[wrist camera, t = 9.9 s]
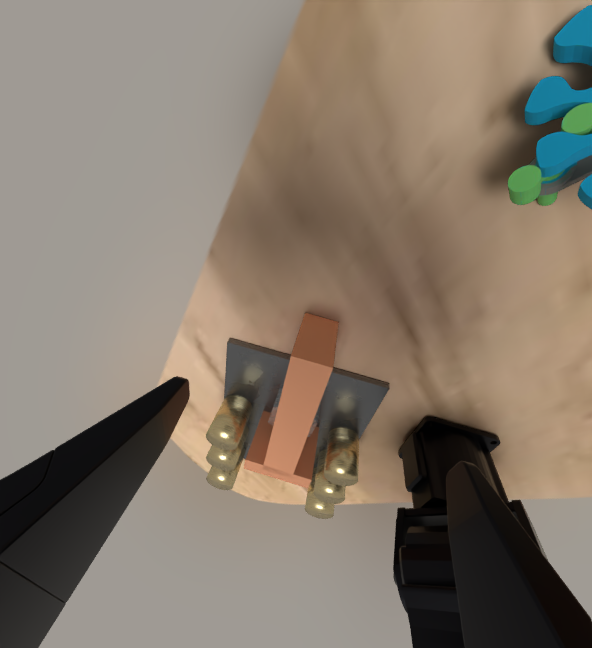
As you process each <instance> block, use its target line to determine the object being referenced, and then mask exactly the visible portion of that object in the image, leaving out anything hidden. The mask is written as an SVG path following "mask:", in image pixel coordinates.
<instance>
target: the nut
mask: <svg viewBox="0 0 592 648" xmlns="http://www.w3.org/2000/svg"><path fill="white" fill-rule="evenodd" d="M282 389H283V388H280V389H279V391H278V394H277V397H276V400H275V403H274V406H273V409H272V412H271V415H270V418H269V421H268V423H269V424H271V425H272V426H273V425H274V421H275V417H276V413H277V409H278V405H279V401H280V397H281V393H282ZM320 405H321V402H320V404H319V407H318V410H317V412H316V415H315V418H314V420H313V423H312V426H311V428H310V431H309V434H308V436H307V437H310V436H311V434H312V432H313V430H314V428H315V427H316V425H317V423H318V418H319V411H320Z"/></svg>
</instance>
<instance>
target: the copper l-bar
mask: <svg viewBox="0 0 592 648" xmlns="http://www.w3.org/2000/svg"><path fill="white" fill-rule="evenodd" d="M338 323H339V322H337V321H333V320H329V319H326V318H322V317H319V316H315V315H311V314H308V313H305V315H304V318H303V321H302V324H301V327H300V330H299V333H298V336H297V339H296V342H295V345H294V348H293V351H292V354H291V358H290V362H289V366H288V370H287V374H286V378H285V381H284V385H283V389H282V393H281V397H280V401H279V405H278V409H277V413H276V417H275V421H274V425H273V426H272V425H271V424H269V423H268V421H269V418H270V415H271V413H269V412H266V411H263V413H262V416H261V419H260V421H259V424H258V427H257V429H256V432H255V435H254V438H253V440H252V443H251V446H250V448H249V451H248V454H247V457H246V459H245V464H244V469H248V470H251V471H254V472H257V473H260V474H264V475H267V476H270V477H273V478H277V479H280V480H283V481H286V482H289V483H293V484H296V485H299V486H302V487H305V488H308V487H309V485H310V483H311V480H312V474H313V467H314V460H315V454H316V447H317V440H318V433H319V427H315V428H314V430H313V432H312V434H311V436H310V437H307V436H308V434H309V431H310V428H311V426H312V423H313V420H314V418H315V415H316V412H317V410H318V407H319V404H320V402H321V399H322V396H323V394H324V391H325V388H326V386H327V383H328V380H329V377H330V375H331V372H332V369H333V364H334V356H335V348H336V340H337V331H338Z"/></svg>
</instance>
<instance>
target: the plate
mask: <svg viewBox="0 0 592 648" xmlns="http://www.w3.org/2000/svg"><path fill="white" fill-rule="evenodd" d="M290 358H291V355H288V354H284V353H281V352H277V351H274V350H270V349H267V348H263V347H260V346H256V345H253V344H249V343H246V342H242V341H239V340H235V339H232V338H230V339H229V341H228V342H227V358H226V376H225V394H224V401H223V403H222V405H221V407H220V409H219V411H218V413H217V414H216V416H215V418H214V420H213V422H212V424H211V426H210V428H209V430H208V432H207V434H206V438H207V440H208V441H209V442H210V443H211V444H212V446H211V448H210V450H209V452H208V454H207V456H206V459H207V461H208V463H209V464H211V465H212V467H211V469H210V471H209V473H208V476H207V478H206V479H207V481H208V483H209V484H211V485H212V486H214V487H216V488H219V489H222V490H230V489H232V488H233V485H234V482H235V480H236V477H237V474H238V472H239V469H240V466H241V463H242V461H243V458H244V459H246V457H247V454H248V451H249V448H250V446H251V443H252V440H253V438H254V435H255V432H256V429H257V427H258V424H259V421H260V419H261V416H262V413H263V411H266V412H269V413H271V412H272V409H273V406H274V403H275V400H276V397H277V394H278V391H279V389H280V388H283V385H284V381H285V378H286V374H287V370H288V366H289V362H290ZM388 390H389V383H386V382H382V381H379V380H375V379H372V378H368V377H365V376H361V375H358V374H354V373H351V372H347V371H344V370H340V369H337V368H333V369H332V372H331V375H330V377H329V380H328V383H327V386H326V388H325V391H324V394H323V396H322V399H321V405H320V411H319V418H318V423H317V425H316V427H319V433H318V440H317V447H316V454H315V460H314V467H313V474H312V480H311V483H310V485H309V487H308V493H307V499H306V505H305V511H306V512H307V513H308V514H310V515H312V516H314V517H317V518H322V519H328V518H331V517H333V514H334V504H338V503H341V502H343V501H344V500H345V486H350V485H354V484H356V483H357V481H358V459H359V439H360V437H361V435H362V434H363V432H364V430H365V429H366V427H367V425H368V424H369V422H370V420H371V418H372V417H373V415H374V413H375V412H376V410H377V408H378V407H379V405H380V403H381V402H382V400H383V398H384V397H385V395H386V393H387V392H388Z"/></svg>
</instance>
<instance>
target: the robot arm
mask: <svg viewBox="0 0 592 648" xmlns="http://www.w3.org/2000/svg"><path fill="white" fill-rule="evenodd" d="M189 396H190V393H189V381H188V380H187V379H185V378H182V377H178V376H177V377H173V378H172V379H170V380H168V381H167V382H165V383H163V384H162V385H160V386H158V387H157V388H155V389H153V390H152V391H150V392H148V393H147V394H145V395H143V396H142V397H140V398H138V399H137V400H135V401H133V402H132V403H130V404H128V405H127V406H125V407H123V408H122V409H120V410H118V411H117V412H115V413H114V414H112V415H110V416H108V417H107V418H105V419H103V420H102V421H100V422H98V423H97V424H95V425H93V426H92V427H90V428H88V429H87V430H85V431H83V432H82V433H80V434H78V435H77V436H75V437H73V438H72V439H70V440H68V441H67V442H65V443H63V444H62V445H60V446H58V447H57V448H56V449H55V450H52V451H50V452H48V453H46V454H45V455H43V456H41V457H40V458H38V459H37V460H35V461H33V462H32V463H29V464H28V465H26V466H24V467H22V468H21V469H19V470H17V471H15V472H14V473H12V474H10V475H8V476H7V477H5V478H3V479H1V480H0V648H38V647H39V646H40V644H41V642H42V641H43V639H44V638H45V636H46V635H47V633H48V631H49V630H50V628H51V626H52V625H53V623H54V622H55V620H56V619H57V617H58V616H59V614H60V612H61V611H62V609H63V607H64V606H65V603H66V602H67V601H68V599H69V598H70V596H71V594H72V593H73V591H74V590H75V588H76V587H77V585H78V583H79V582H80V581H81V579H82V577H83V576H84V574H85V572H86V571H87V569H88V568H89V566H90V565H91V563H92V562H93V560H94V558H95V557H96V555H97V554H98V552H99V551H100V549H101V547H102V546H103V544H104V543H105V541H106V539H107V538H108V536H109V535H110V533H111V532H112V530H113V528H114V527H115V525H116V524H117V522H118V521H119V519H120V517H121V516H122V514H123V513H124V511H125V509H126V508H127V506H128V505H129V503H130V501H131V500H132V498H133V497H134V495H135V493H136V492H137V490H138V489H139V487H140V486H141V484H142V482H143V481H144V479H145V478H146V476H147V475H148V473H149V472H150V470H151V468H152V467H153V465H154V464H155V462H156V460H157V459H158V457H159V456H160V454H161V453H162V451H163V449H164V448H165V446H166V444H167V442H168V441H169V439H170V437H171V435H172V433H173V431H174V429H175V427H176V425H177V422H178V420H179V418H180V416H181V414H182V412H183V410H184V408H185V406H186V404H187V402H188V400H189ZM499 444H500V440H499V438H498V436H495V435H492V434H489V433H485V432H482V431H478V430H475V429H471V428H468V427H464V426H461V425H458V424H454V423H451V422H447V421H444V420H440V419H437V418H433V417H426V418H425V419H424V420H423V421H422V422H421V423H420V425H419V426H418V427H417V429H416V430H415V431H414V432H413V433H412V434H411V435H410V436H409V438H408V439H407V440H406V441H405V443H404V444H403V445H402V447H401V449H400V450H399V452H398V453H399V457H400V458H402V459H403V467H404V476H405V485H406V489H407V491H408V492H412V499H413V507H414V508H409V509H405V508H398V512H397V513H398V514H397V519H396V533H395V549H394V567H393V570H394V581H395V583H396V585H397V587H398V591H399V595H400V598H401V601H402V604H403V606H404V608H405V610H406V612H407V613H408V617H409V623H410V628H411V636H412V644H413V648H592V621H591V618H590V616H589V615H588V614H587V612H586V611H585V610H584V609H583V607H582V606H581V604H580V603H579V602H578V600H577V599H576V598H575V596H574V595H573V594H572V592H571V591H570V590H569V588H568V587H567V586H566V584H565V583H564V582H563V580H562V579H561V578H560V576H559V575H558V574H557V572H556V571H555V570H554V568H553V567H552V566H551V564H550V563H549V562H548V559H547V557H546V555H545V552H544V550H543V548H542V546H541V543H540V541H539V539H538V536H537V534H536V532H535V530H534V527H533V525H532V523H531V521H530V519H529V517H528V515H527V513H526V511H525V509H524V506H523V504H522V502H521V500H512V502H509V501H508V498H507V496H506V493H505V491H504V488H503V486H502V483H501V480H500V478H499V475H498V473H497V470H496V467H495V465H494V462H493V460H492V457H491V455H490V452H491V451H492V450H494V449H495V448H496V447H497V446H498V445H499Z"/></svg>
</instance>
